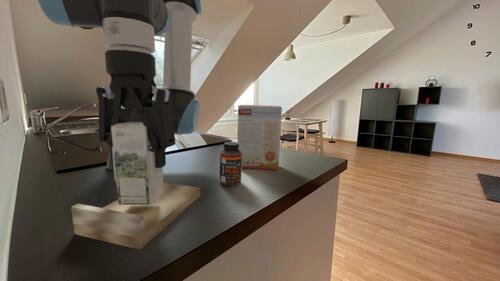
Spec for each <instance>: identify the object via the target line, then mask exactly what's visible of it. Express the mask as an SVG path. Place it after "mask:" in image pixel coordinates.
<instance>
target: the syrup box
mask: <svg viewBox="0 0 500 281" xmlns="http://www.w3.org/2000/svg"><path fill="white" fill-rule="evenodd" d="M111 132H112V141H113V151H114V162H115V173H116V181H115V182H116V189H117V193H116V194H117V200H118V203H119V205H147V204H151V203H152V202H153V200H154V199H155V198H156V196H157V195H158V194H159V192H160V188H159V184H158V185H156V186H154V187H152V186H150V173H149V155H148V151H150V149H152V146H151V143H150V141H149V138H148V134H147V127H146V126H144V124H143V123H141V122H123V123H118V124H115V125H113V126H111Z"/></svg>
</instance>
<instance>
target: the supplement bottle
mask: <svg viewBox="0 0 500 281" xmlns="http://www.w3.org/2000/svg"><path fill="white" fill-rule="evenodd" d="M238 148H239V143H237V142H236V141H226V142H224V143H223V149H222V150H221V151H220V153H219V183H220V184H221V185H222V186H225V187H236V186H238V185H240V184H241V181H242V169H243V168H242V152H241V151H240V150H239V149H238Z"/></svg>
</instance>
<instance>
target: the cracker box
mask: <svg viewBox="0 0 500 281" xmlns="http://www.w3.org/2000/svg"><path fill="white" fill-rule="evenodd" d="M237 110H238V111H237V113H238V114H237V143H239V148H238V149H239V150H240V151H241V152H242V168H241V169H257V170H271V171H272V170H273V171H279V166H280V152H281V151H280V150H281V131H282V130H281V129H282V113H283V108H282V106H280V105H265V104H264V105H263V104H258V105H257V104H239V105H238V109H237Z"/></svg>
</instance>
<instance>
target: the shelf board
mask: <svg viewBox="0 0 500 281" xmlns="http://www.w3.org/2000/svg"><path fill="white" fill-rule="evenodd" d="M159 188H160V192H159V194H158V195H157V196H156V198H155V199H154V200H153V202H152V203H151V204H147V205H119V203H118V199H117V200H115V201H113V202H111V203H109V204H107V205H106V206H104V207H97V206H93V205H87V204H82V203H77V204H75V205H72V206H71V208H70V209H71V210H70V211H71V215H72V225H73V232H74V233H73V234H74V235H76V236H81V237H85V238H89V239H92V240H97V241H102V242H107V243H110V244H115V245H119V246H123V247H128V248H131V249H134V250H135V249H136V250H142V249H143V248H145V246H147V245H148V243H150V242H151V241H152V240H153V239H154V238H155V237H156V236H158V235H159V234H160V233H161V232H162V231H163V230H164V229H165V228H166V227H168V226H169V225H170V224H171V223H172V222H173V221H174V220H176V218H177V217H179V216H180V215H181V214H182V213H183V212H184V211H186V210H187V208H189V207H190V206H191V205H192V204H193V203H194V202H195V201H197V199H199V198H200V197H201V187H198V186H197V187H195V186H190V185H189V186H188V185H183V184H182V185H181V184H175V183H169V182H164V181H163V182H161V183H160V184H159Z"/></svg>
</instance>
